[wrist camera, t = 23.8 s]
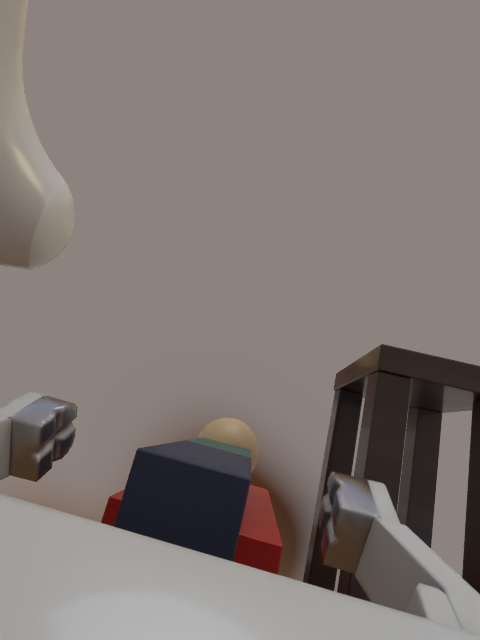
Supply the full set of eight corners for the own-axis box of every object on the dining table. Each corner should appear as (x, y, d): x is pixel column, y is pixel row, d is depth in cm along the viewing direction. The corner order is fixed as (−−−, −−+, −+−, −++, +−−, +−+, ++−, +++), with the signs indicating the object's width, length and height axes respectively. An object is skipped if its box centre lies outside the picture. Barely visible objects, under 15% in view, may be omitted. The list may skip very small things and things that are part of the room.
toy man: (247, 601, 10) (283, 422, 11) (83, 550, 10) (136, 384, 12) (250, 487, 29) (263, 426, 30) (192, 471, 29) (208, 412, 30)
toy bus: (185, 1105, 11) (287, 548, 15) (-57, 995, 12) (104, 495, 16) (222, 720, 26) (270, 490, 30) (112, 683, 26) (174, 463, 31)
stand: (522, 1142, 12) (533, 377, 19) (285, 1041, 13) (381, 343, 20) (394, 807, 22) (432, 395, 30) (269, 763, 23) (336, 373, 30)
